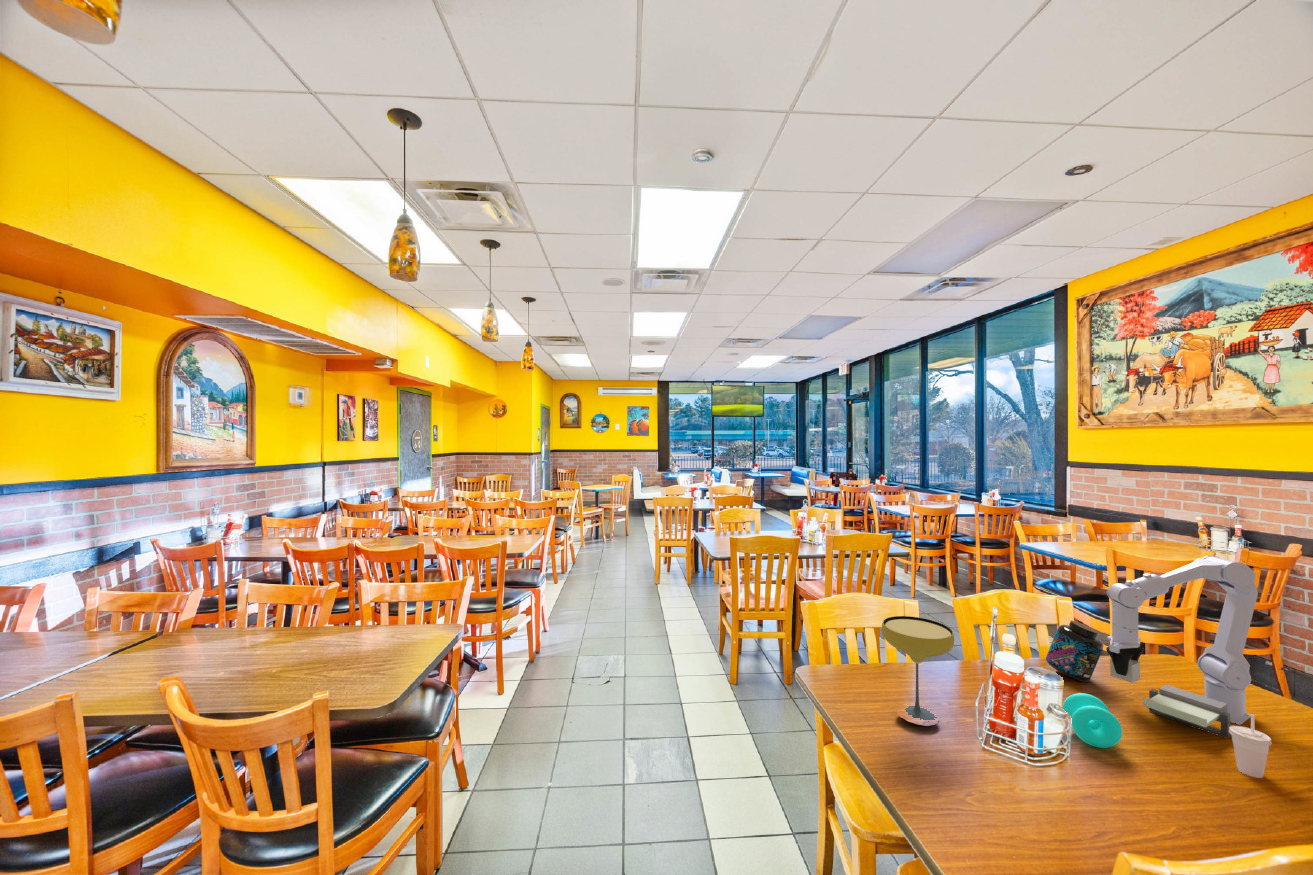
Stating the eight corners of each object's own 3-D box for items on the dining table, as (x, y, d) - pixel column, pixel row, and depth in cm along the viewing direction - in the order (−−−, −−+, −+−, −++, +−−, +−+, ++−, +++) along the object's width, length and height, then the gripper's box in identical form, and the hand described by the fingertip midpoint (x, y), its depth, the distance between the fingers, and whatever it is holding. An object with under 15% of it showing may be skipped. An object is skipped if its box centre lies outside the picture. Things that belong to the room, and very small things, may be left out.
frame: (1152, 709, 145) (1152, 688, 145) (1230, 736, 131) (1230, 713, 131) (1149, 711, 143) (1149, 690, 144) (1227, 739, 130) (1227, 716, 130)
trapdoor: (1166, 697, 145) (1166, 684, 145) (1227, 717, 135) (1227, 703, 135) (1143, 710, 138) (1143, 697, 138) (1205, 732, 127) (1205, 718, 127)
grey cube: (1118, 672, 151) (1118, 655, 151) (1140, 679, 146) (1139, 661, 146) (1110, 675, 149) (1110, 658, 149) (1132, 682, 144) (1132, 665, 144)
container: (1084, 674, 168) (1104, 629, 165) (1091, 689, 157) (1113, 642, 155) (1041, 655, 174) (1060, 612, 171) (1046, 668, 163) (1065, 623, 161)
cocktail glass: (883, 725, 136) (883, 633, 136) (880, 694, 153) (880, 612, 153) (960, 740, 129) (959, 643, 130) (948, 706, 146) (948, 620, 146)
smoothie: (1281, 786, 112) (1280, 723, 112) (1246, 782, 114) (1246, 720, 114) (1253, 767, 119) (1253, 708, 119) (1221, 764, 120) (1220, 705, 120)
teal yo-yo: (1108, 733, 133) (1108, 695, 133) (1124, 754, 124) (1124, 714, 124) (1061, 724, 137) (1061, 687, 137) (1073, 744, 128) (1073, 705, 128)
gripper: (1118, 617, 154) (1119, 661, 154) (1096, 625, 148) (1096, 671, 148) (1149, 624, 148) (1149, 671, 148) (1127, 633, 141) (1127, 682, 141)
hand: (1125, 672), depth 147 cm, fingers closed on grey cube, 5 cm apart
